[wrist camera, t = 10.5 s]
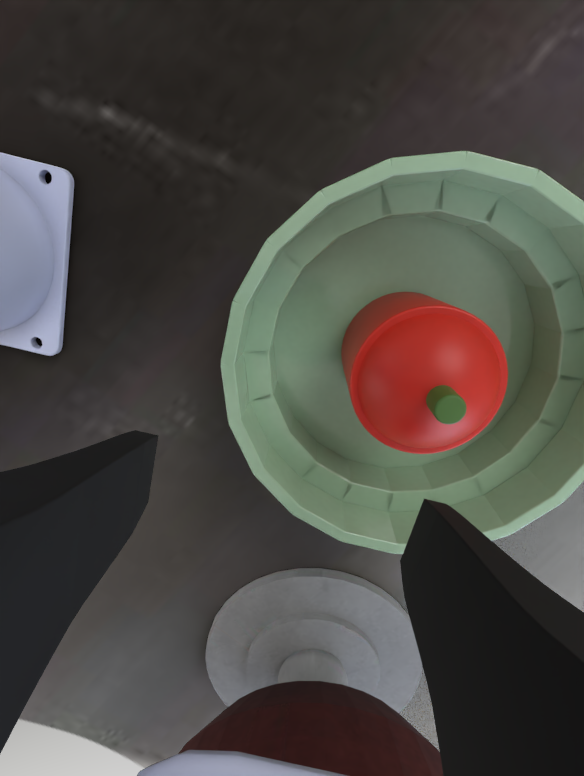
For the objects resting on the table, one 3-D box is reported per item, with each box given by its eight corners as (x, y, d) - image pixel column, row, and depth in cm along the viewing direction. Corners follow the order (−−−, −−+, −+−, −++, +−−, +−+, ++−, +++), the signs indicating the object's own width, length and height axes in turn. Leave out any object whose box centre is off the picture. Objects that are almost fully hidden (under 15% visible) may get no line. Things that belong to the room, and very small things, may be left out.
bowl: (219, 450, 22) (192, 507, 17) (282, 140, 17) (270, 99, 13) (490, 514, 22) (539, 588, 17) (618, 226, 18) (730, 217, 13)
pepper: (328, 392, 20) (335, 470, 13) (359, 278, 18) (388, 295, 11) (438, 419, 20) (505, 510, 13) (479, 307, 18) (581, 343, 11)
